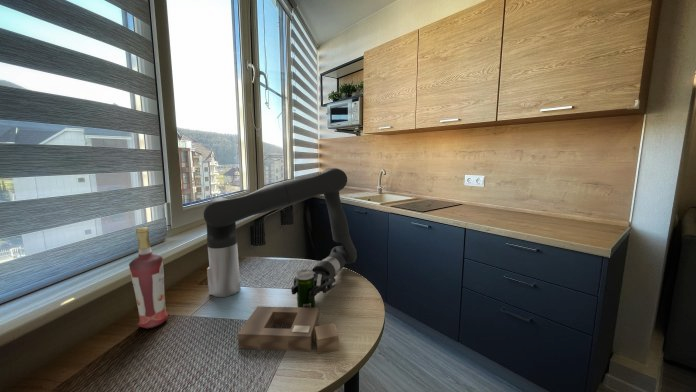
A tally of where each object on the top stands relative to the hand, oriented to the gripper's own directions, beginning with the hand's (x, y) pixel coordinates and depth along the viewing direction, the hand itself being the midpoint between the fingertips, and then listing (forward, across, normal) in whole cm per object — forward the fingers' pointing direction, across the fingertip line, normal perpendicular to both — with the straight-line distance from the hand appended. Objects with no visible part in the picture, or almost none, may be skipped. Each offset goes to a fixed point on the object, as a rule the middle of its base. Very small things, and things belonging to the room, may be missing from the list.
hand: (301, 293), depth 77 cm
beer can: (-3, 0, +7) cm, 7 cm away
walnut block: (+9, +13, +7) cm, 17 cm away
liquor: (+19, -37, +7) cm, 42 cm away
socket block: (+10, 0, +7) cm, 12 cm away
